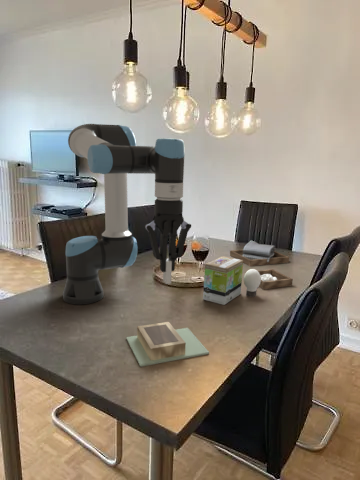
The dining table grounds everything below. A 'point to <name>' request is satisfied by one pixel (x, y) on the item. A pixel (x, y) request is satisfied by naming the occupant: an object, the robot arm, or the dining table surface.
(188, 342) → the mat
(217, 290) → the tea box
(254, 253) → the towel
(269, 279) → the rose
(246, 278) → the light bulb
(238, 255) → the frame
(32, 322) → the dining table surface
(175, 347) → the tan rectangular box
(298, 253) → the dining table surface
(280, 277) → the rose frame
